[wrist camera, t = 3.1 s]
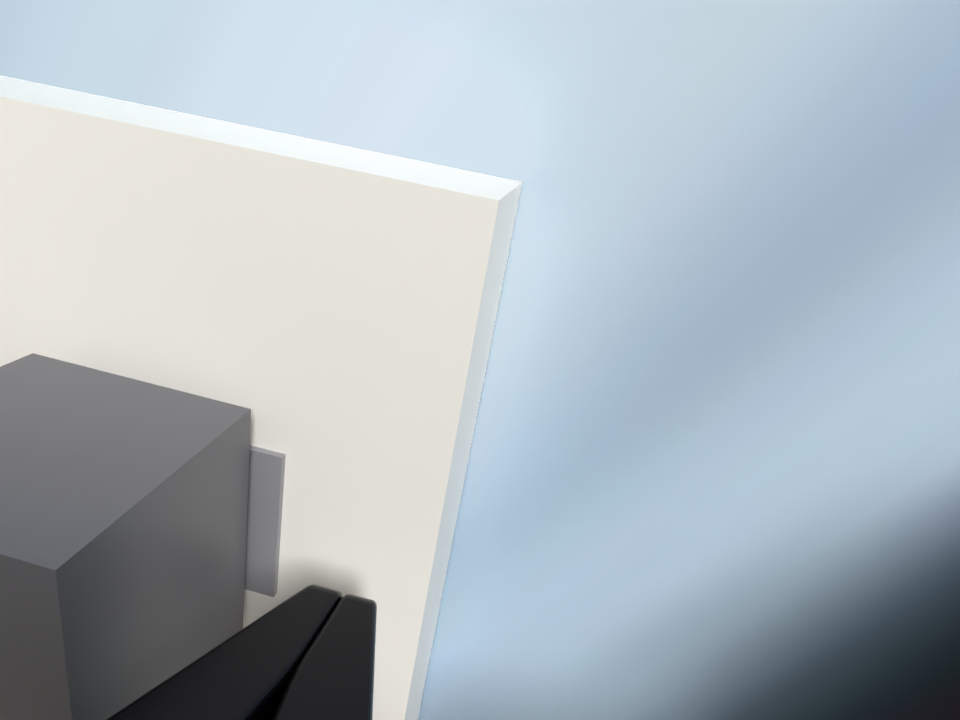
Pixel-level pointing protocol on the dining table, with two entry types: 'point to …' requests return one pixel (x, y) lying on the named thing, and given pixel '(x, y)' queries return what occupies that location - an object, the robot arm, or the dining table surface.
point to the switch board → (274, 326)
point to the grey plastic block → (113, 536)
